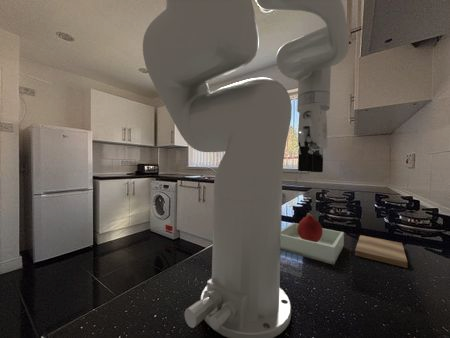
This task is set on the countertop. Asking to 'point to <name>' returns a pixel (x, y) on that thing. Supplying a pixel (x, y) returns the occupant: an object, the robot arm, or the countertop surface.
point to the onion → (310, 229)
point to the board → (381, 250)
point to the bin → (313, 244)
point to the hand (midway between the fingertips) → (311, 171)
